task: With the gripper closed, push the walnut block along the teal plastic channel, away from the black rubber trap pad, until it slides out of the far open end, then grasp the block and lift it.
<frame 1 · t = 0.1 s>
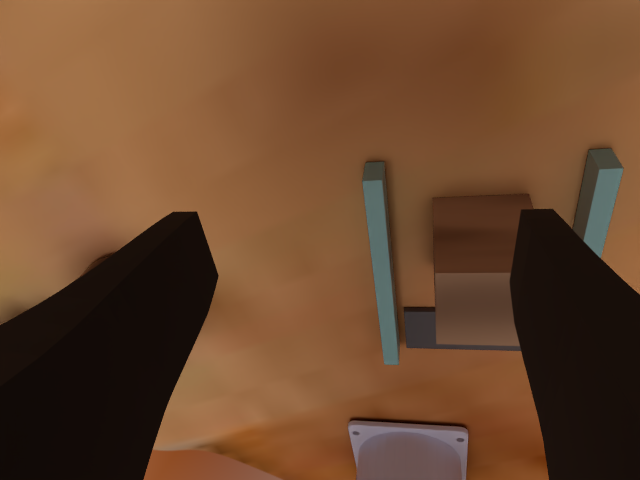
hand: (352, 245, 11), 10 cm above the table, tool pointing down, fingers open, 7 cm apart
walnut block: (477, 231, 23), on the table
channel: (476, 265, 24), on the table
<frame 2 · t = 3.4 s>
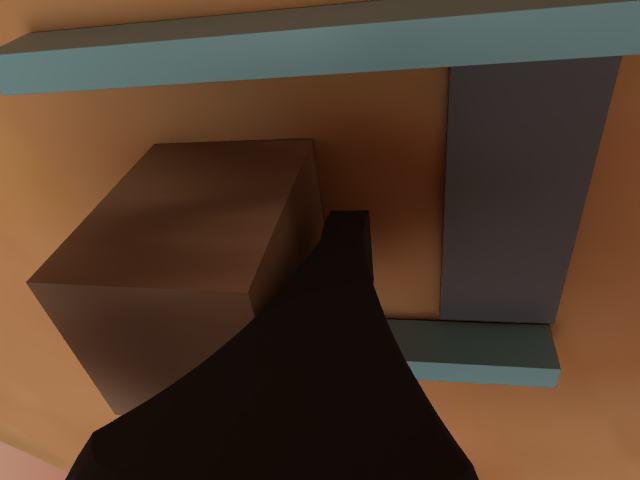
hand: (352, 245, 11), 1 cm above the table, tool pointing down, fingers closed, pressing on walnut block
walnut block: (248, 209, 13), on the table, touching gripper
channel: (322, 210, 12), on the table
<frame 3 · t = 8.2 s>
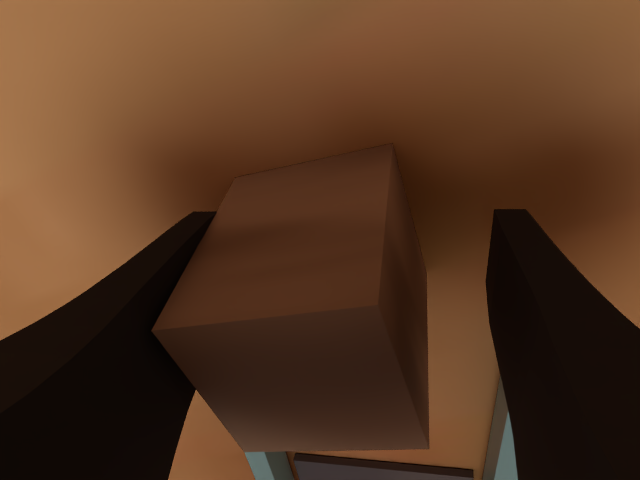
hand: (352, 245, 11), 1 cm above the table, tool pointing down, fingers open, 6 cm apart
walnut block: (334, 227, 13), on the table, touching gripper
channel: (377, 420, 18), on the table
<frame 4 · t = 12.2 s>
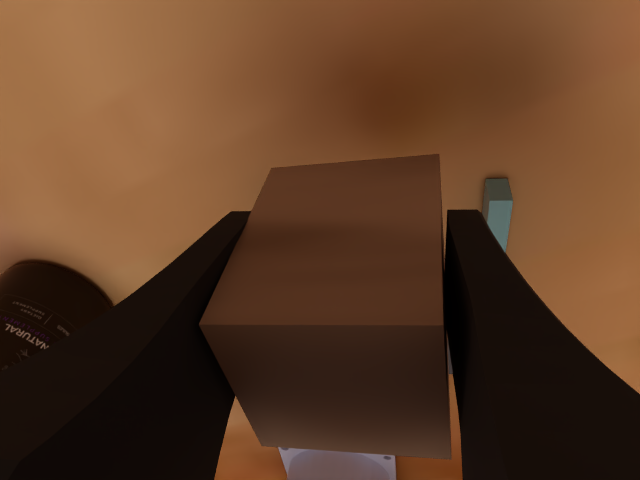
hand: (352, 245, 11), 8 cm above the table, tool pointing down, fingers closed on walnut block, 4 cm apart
walnut block: (363, 228, 13), point 7 cm above the table, touching gripper
channel: (387, 288, 23), on the table
supplement bottle: (63, 299, 28), on the table, touching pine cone
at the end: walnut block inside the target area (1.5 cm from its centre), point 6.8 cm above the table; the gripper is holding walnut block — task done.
